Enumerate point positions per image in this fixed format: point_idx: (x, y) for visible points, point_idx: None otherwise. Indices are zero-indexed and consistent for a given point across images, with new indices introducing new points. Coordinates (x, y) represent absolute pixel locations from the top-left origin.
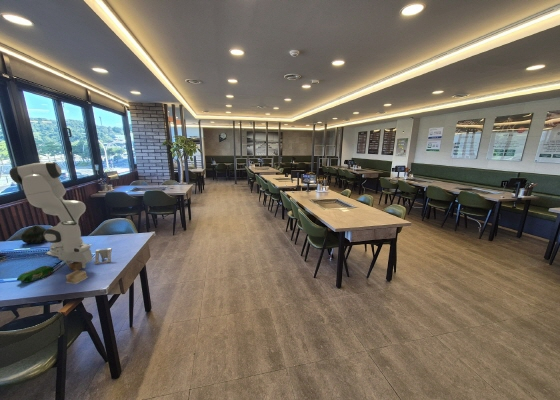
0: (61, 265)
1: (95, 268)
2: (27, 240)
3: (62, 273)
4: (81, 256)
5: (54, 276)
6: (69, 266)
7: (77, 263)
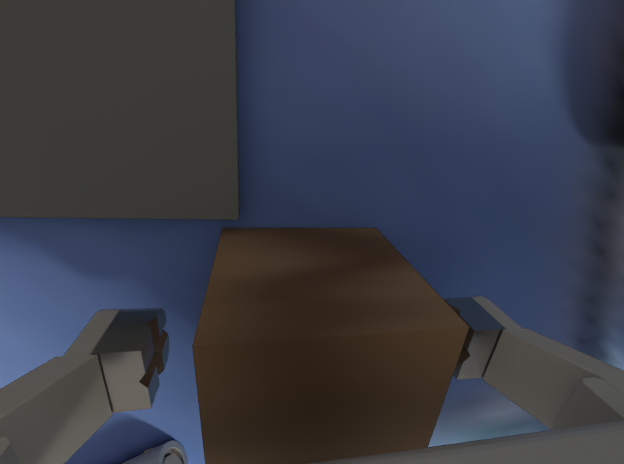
0: (606, 333)
1: (14, 375)
2: None
3: (451, 143)
4: None
5: (520, 9)
6: (423, 281)
7: (237, 403)
